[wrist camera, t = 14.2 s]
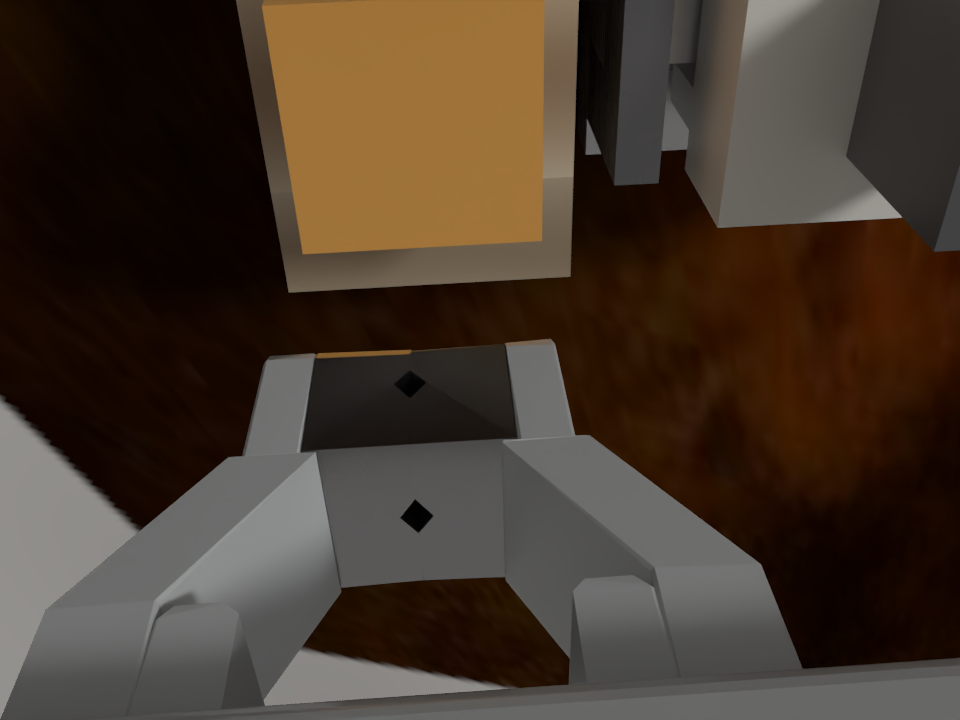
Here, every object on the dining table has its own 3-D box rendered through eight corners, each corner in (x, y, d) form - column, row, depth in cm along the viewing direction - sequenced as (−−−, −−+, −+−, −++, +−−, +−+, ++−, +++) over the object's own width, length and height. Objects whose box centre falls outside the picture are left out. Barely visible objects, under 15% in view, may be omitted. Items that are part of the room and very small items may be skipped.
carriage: (695, -172, 20) (857, -93, 12) (1014, -186, 20) (1358, -117, 13) (666, 137, 24) (776, 332, 17) (931, 123, 24) (1154, 309, 17)
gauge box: (249, -243, 20) (195, -221, 15) (545, -254, 20) (586, -237, 15) (315, 200, 26) (292, 314, 21) (541, 187, 26) (569, 298, 22)
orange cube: (287, -46, 17) (261, 5, 14) (523, -58, 17) (544, -8, 14) (318, 173, 20) (302, 254, 17) (523, 162, 20) (542, 240, 17)
